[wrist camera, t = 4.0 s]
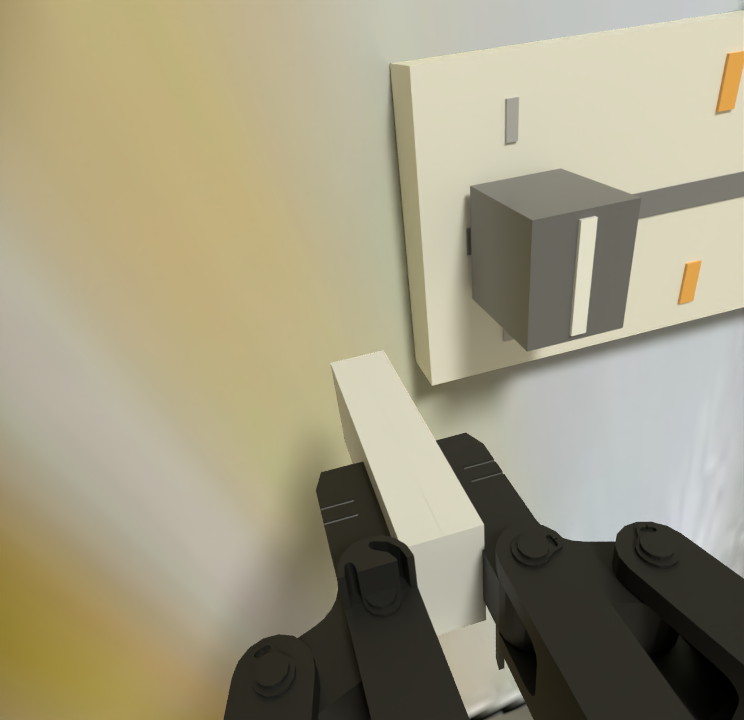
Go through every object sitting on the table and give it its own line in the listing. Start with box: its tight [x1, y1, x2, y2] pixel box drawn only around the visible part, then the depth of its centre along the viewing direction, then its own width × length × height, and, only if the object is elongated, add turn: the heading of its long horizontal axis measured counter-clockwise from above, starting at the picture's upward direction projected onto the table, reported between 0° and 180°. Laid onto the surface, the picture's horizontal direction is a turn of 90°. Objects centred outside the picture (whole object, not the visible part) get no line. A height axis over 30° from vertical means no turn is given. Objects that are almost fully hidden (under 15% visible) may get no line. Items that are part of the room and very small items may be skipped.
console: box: [390, 10, 744, 386], centre depth 26 cm, size 24×14×3 cm, turn 97°
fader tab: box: [470, 168, 641, 352], centre depth 21 cm, size 4×5×5 cm
